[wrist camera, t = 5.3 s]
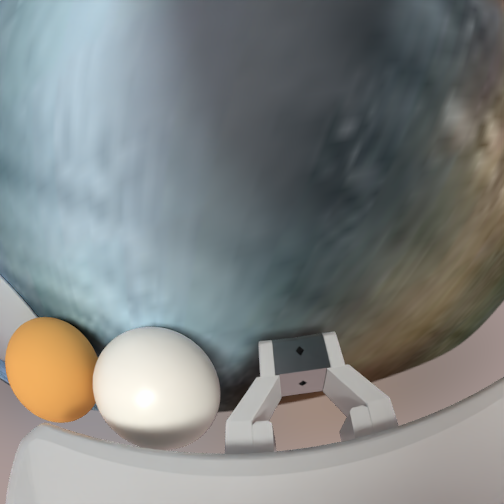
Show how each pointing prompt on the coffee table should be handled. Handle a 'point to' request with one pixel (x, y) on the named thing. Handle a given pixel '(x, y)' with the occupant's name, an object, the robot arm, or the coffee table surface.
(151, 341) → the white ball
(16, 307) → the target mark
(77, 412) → the orange ball
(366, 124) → the coffee table surface
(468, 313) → the coffee table surface
